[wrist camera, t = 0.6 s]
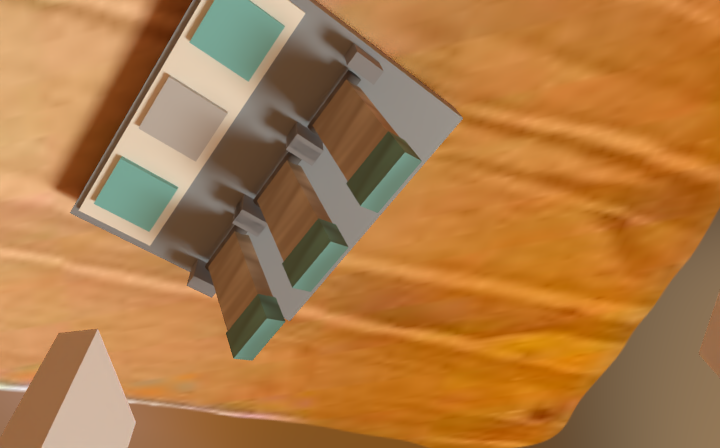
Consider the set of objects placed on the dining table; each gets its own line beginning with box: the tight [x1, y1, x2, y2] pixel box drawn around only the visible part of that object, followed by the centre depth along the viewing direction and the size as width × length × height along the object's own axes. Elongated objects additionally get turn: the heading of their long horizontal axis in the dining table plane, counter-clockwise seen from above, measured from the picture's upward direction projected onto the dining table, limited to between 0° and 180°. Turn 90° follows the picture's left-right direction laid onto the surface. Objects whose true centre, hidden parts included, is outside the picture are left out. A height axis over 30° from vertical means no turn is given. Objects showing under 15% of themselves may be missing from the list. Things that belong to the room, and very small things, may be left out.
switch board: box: [70, 0, 463, 321], centre depth 37 cm, size 18×21×4 cm
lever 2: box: [253, 152, 348, 292], centre depth 34 cm, size 1×4×9 cm, turn 142°
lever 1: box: [205, 225, 285, 360], centre depth 37 cm, size 1×4×9 cm, turn 143°
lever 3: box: [307, 70, 422, 213], centre depth 32 cm, size 1×4×9 cm, turn 143°
